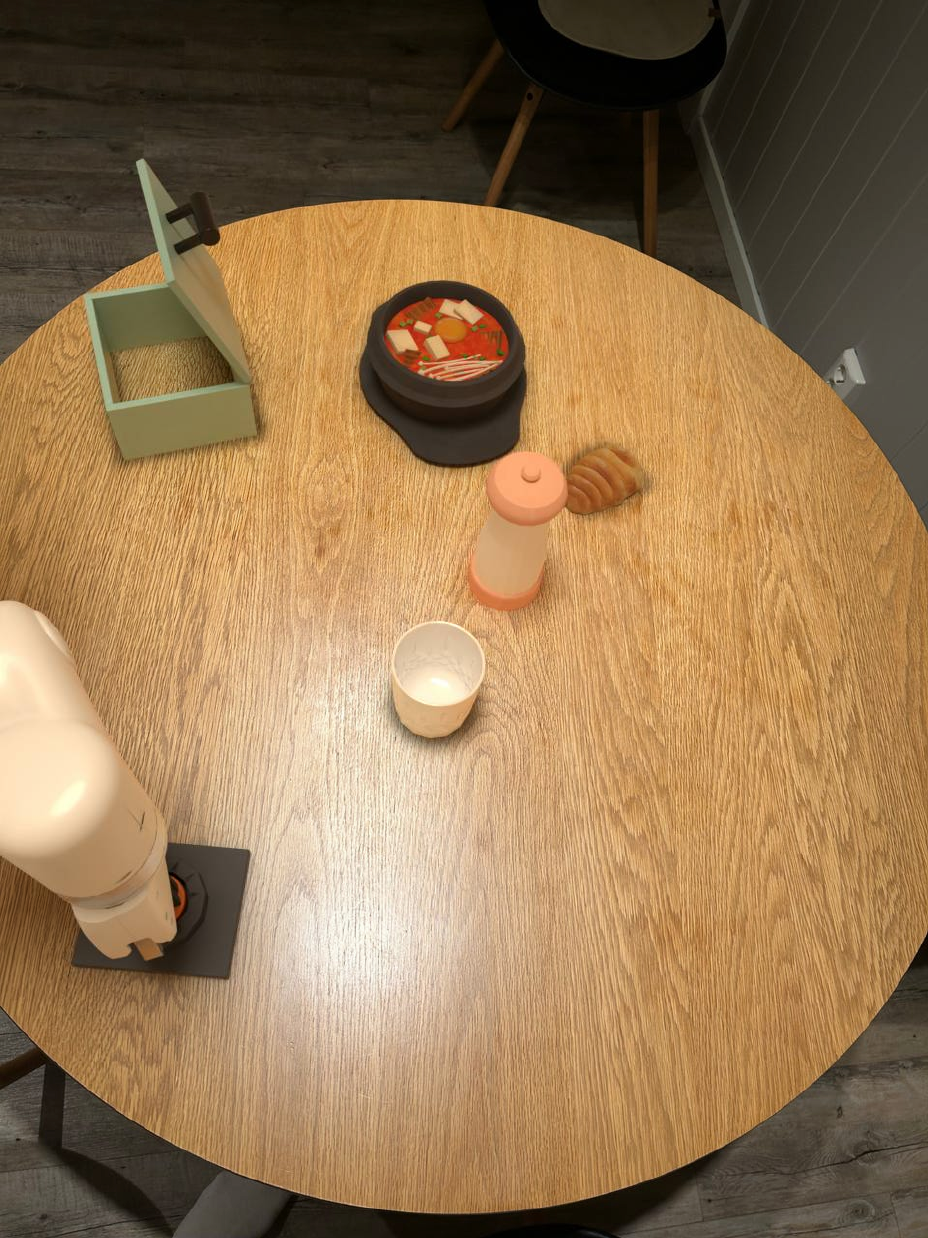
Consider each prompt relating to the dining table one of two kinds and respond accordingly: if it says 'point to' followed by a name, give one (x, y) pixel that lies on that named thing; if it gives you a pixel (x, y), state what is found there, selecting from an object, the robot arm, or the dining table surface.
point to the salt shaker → (516, 530)
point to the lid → (194, 264)
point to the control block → (190, 917)
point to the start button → (183, 896)
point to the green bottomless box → (171, 416)
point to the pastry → (603, 480)
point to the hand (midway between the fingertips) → (159, 901)
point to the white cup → (436, 677)
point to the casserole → (446, 371)
